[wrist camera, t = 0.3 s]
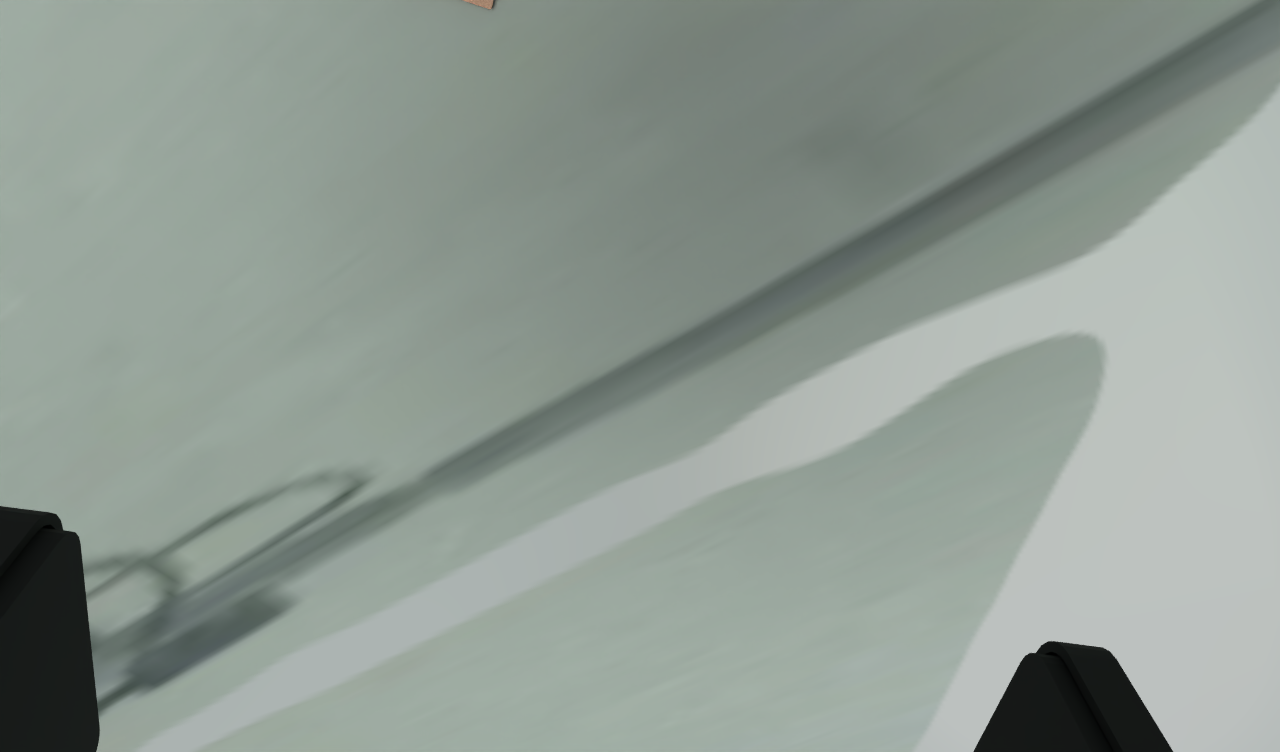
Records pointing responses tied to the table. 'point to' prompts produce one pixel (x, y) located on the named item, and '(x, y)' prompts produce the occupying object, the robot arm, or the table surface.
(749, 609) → the table surface
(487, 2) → the game track
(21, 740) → the robot arm
